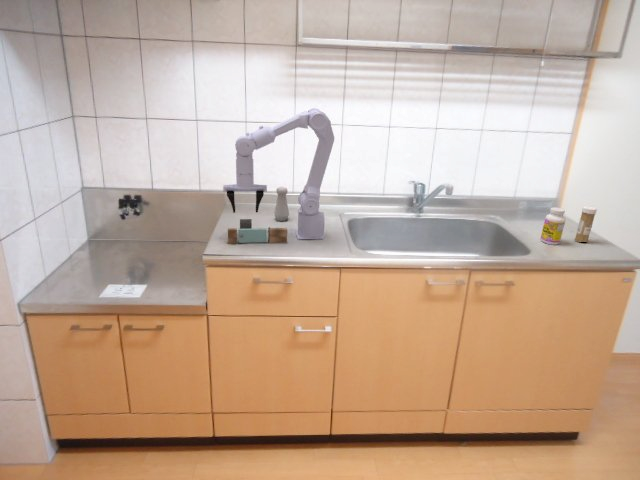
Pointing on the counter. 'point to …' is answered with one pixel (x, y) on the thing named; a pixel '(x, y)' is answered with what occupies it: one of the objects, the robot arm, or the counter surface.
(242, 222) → the block
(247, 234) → the door
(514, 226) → the counter surface
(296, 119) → the robot arm
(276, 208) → the salt shaker
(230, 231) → the wall
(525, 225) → the counter surface
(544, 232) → the supplement bottle
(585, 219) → the sprinkles bottle
